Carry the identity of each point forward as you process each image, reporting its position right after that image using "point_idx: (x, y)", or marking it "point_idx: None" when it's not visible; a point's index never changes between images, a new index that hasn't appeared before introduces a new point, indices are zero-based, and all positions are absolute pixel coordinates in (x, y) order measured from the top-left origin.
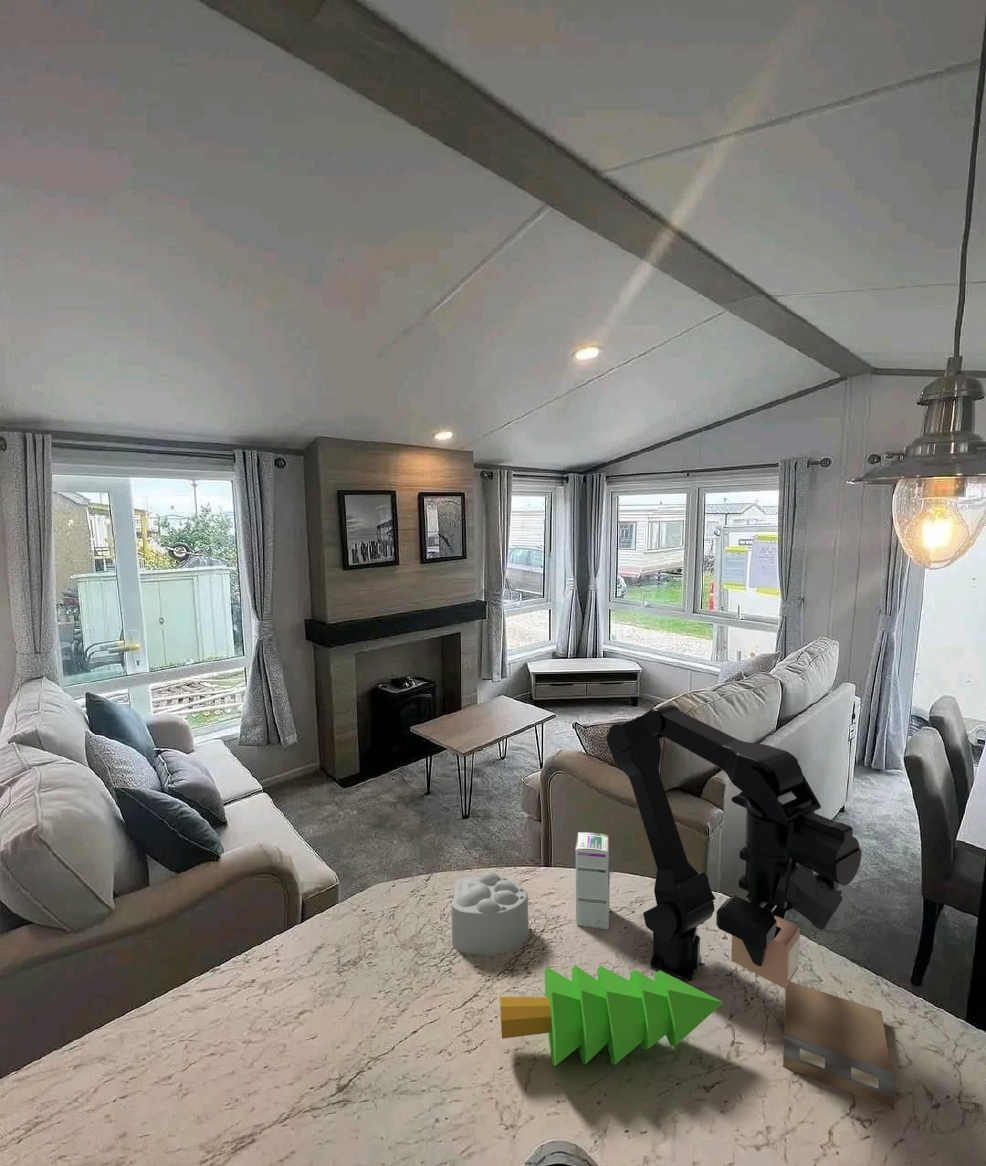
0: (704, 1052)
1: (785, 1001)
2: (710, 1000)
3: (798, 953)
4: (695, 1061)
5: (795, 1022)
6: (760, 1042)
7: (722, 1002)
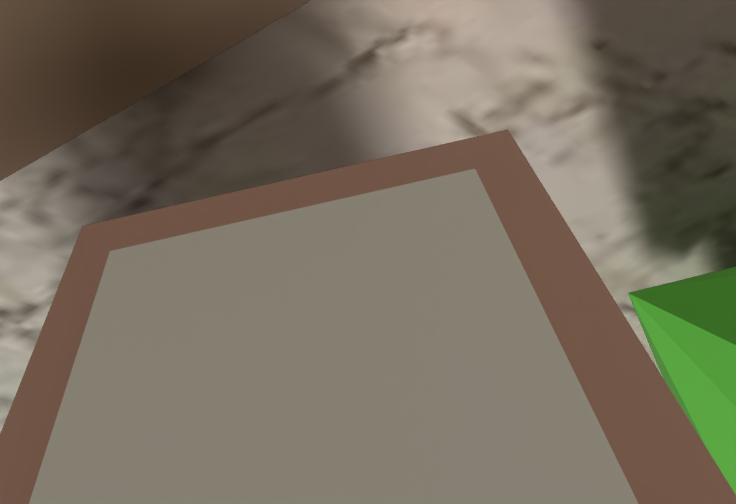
0: (633, 172)
1: (67, 141)
2: (725, 334)
3: (99, 362)
4: (702, 164)
5: (144, 23)
6: (380, 70)
7: (639, 295)
